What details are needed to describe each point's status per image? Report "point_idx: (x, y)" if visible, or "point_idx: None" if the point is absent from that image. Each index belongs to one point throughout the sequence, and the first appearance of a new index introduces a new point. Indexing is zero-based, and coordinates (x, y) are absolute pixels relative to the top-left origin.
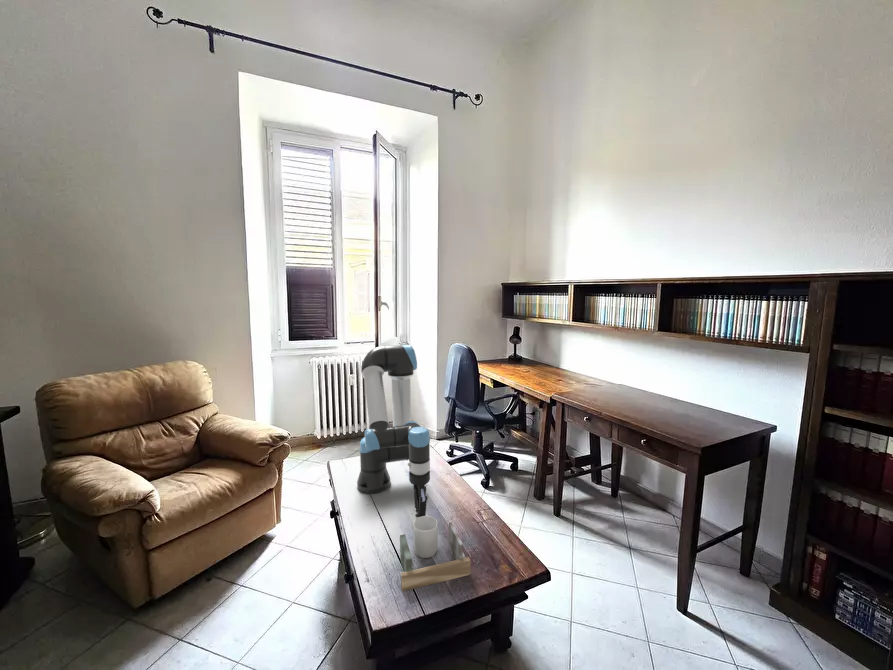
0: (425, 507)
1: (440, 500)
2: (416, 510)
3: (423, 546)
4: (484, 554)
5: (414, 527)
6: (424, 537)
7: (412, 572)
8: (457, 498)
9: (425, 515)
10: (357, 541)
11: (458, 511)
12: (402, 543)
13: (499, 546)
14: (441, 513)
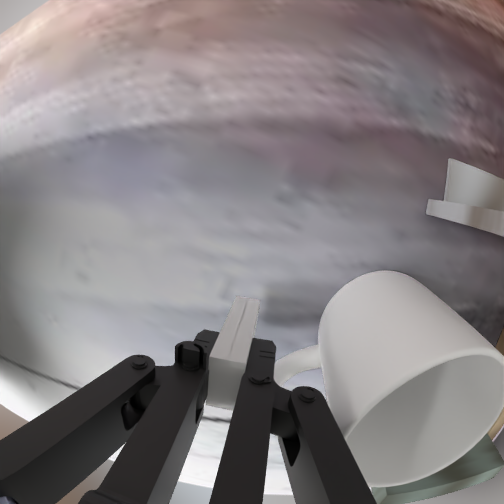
0: (365, 493)
1: (47, 107)
2: (198, 421)
3: (436, 386)
4: (497, 93)
5: (402, 480)
6: (462, 415)
7: (493, 433)
8: (75, 28)
9: (326, 405)
10: (195, 478)
11: (156, 34)
12: (427, 497)
13: (470, 19)
14: (127, 125)
